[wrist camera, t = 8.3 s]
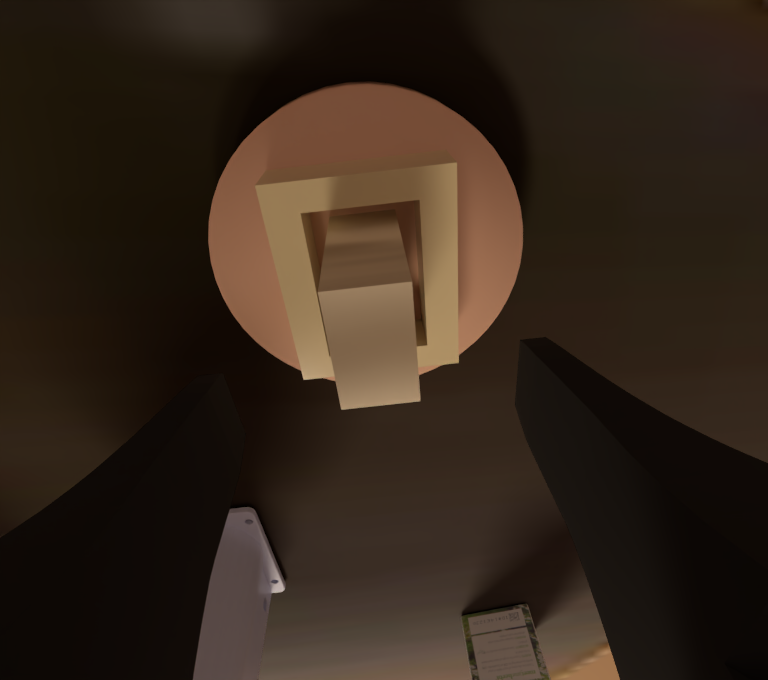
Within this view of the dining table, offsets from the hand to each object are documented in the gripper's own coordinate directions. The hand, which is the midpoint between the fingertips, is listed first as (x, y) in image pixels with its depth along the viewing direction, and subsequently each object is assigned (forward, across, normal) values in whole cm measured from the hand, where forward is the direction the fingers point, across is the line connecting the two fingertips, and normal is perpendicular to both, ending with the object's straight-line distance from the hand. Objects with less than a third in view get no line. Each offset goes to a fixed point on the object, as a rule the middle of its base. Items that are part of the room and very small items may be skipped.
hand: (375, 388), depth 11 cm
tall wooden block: (+8, 0, 0) cm, 8 cm away
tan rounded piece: (+10, 0, 0) cm, 10 cm away
